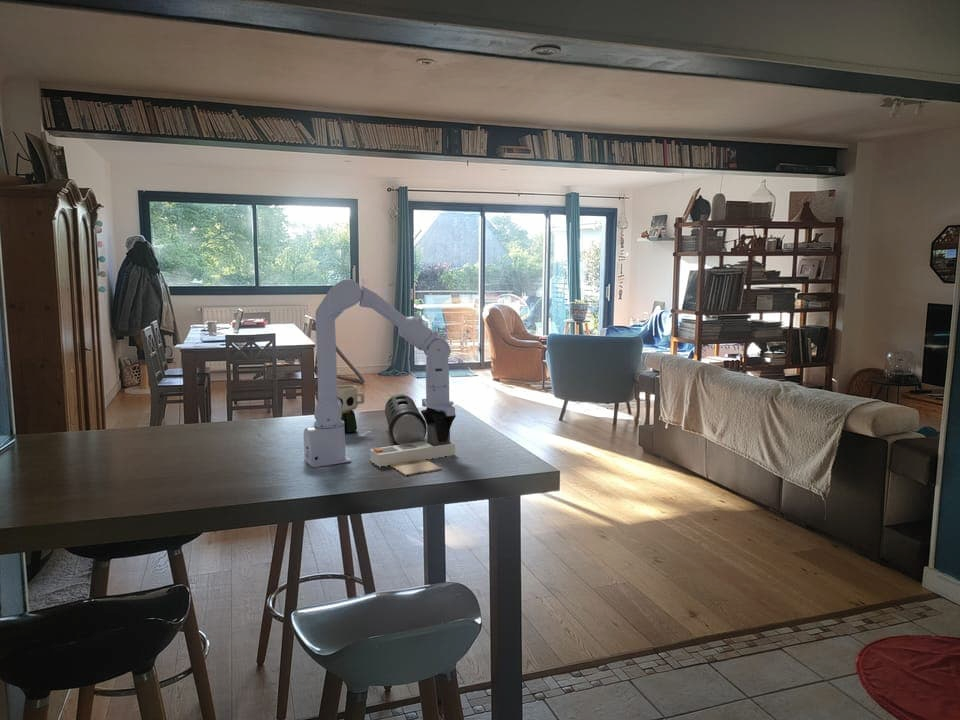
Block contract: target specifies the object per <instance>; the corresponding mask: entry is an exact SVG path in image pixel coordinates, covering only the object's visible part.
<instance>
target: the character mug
mask: <svg viewBox="0 0 960 720" xmlns="http://www.w3.org/2000/svg"><path fill="white" fill-rule="evenodd" d="M337 389H338V397H339V399H340V401H341V403H342V417H341V420H343V421H344V427H345V431H347V433H353V432H355V431H357V429H358V426H357V419H356V414H355V411H354V410H356V409H357V408H358V405H363V404H365V393H364V392H362V391H360V392H358V386H357V385H351V384H350V385H349V384H343V385H341V384H339V385H337ZM359 396H360V400H359V399H358V397H359Z"/></svg>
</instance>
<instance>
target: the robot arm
mask: <svg viewBox="0 0 960 720" xmlns="http://www.w3.org/2000/svg"><path fill="white" fill-rule="evenodd" d="M357 304H359V307H361V308H367V309H371V310H374V311H375V312H376V313H377V314H379V315H381V316H382V317H383V318H385V319H386V320H388V321H389V322H390V323H392V324H393V325H395V326H396V327H397V328H398V334H399V336H400V337H401V338H403V339H404V340H405V341H406V342H408V343H410V344H411V345H412V346H413V347H415V348H416V349H417V350H418V351H423V353H424V354H425V356H426V357H425V358H426V359H425V362H426V363H425V364H426V365H425V396H426V397H425V398H422V399H421V406H422V407H423V408H424V407H425V409H421V410H420V414H421V415H422V416H423V418H424V420H425V422H426V425H427V424H430V423H435V425H436V429H437V437H438V441H439V442H445V441H447V440H448V436H449V431H450V432H451V428H452V424H453V422H454V420H455V419H456V417H457V416H456V407H454V406H453V405H454V401H453V400H450V368H449V358H450V355H451V351H452V349H451V348H450V345H449V342H448V341H446V340H445V339H444V338H443V337H442V336H441V335H438V334H439V332H438V331H437V330H433V329H431V328H430V327H428V326H427V325H426V324H424V323H423V322H424V320H423V319H422V318H421V317H419V316H418V317H416V316H413V315H412V316H405V315H404V314H403V313H401V312H400V311H399V310H397V309H396V308H395V307H394V306H392V305H391V304H390V302H389V303H388V302H387V300H385V299H384V298H383V297H381V296H380V295H378V293H376V292H375V291H373V290H371V289H369V288H367V287H366V286H363V285H359V283H358V282H357V281H355V280H353V279H350V278H344V279H341V280H339V282H336V283H335V284H334V285H333V286H331V288H330V289H329V290H328V292H327V294H326V295H325V296H324V298H323V299H322V301H321V302H320V303H319V305H318V306H317V308H316V310H315V315H314V316H315V337H316V338H315V339H316V340H315V341H316V342H315V343H316V361H317V362H316V364H317V366H316V367H317V368H316V369H317V401H316V404H315V409H314V415H313V416H314V419H315V421H314V422H313V425H312V426H310V427H309V426H308V427H305V428H304V429H303V450H304V451H303V452H304V457H303V460H304V461H305V462H306V463H307V464H308V465H310V467H312V468H319V467H324V466H325V467H326V466H332V465H337V464H339V465H340V464H344V463H350V462H352V459H351V458H350V457H348V456H346V433H345V432H346V430H345V427H344V421H343V420H341V417H342V403H341V401H340V399H339V397H338V389H337V386H338V369H337V368H338V367H337V341H336V337H337V336H336V319H337V318H339V317H340V316H341V315H342V313H344V311H345V310H347V309H350V308H352V307H354V306H356V305H357Z"/></svg>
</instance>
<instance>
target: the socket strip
mask: <svg viewBox="0 0 960 720" xmlns="http://www.w3.org/2000/svg"><path fill="white" fill-rule="evenodd" d="M452 455H453V456H456V443H455V442H454V441H451V440H450V444H445V445H438V446H432V445H430V444H428V443H427V440H424V441H423V440H422V442H415V443H409V444H402V445H397V444H396V445H388V446H384V447H383V446H382V447H375V448H370V449H369V462H370V461H371V462H370V463H372V464H373V463H374V465H375V466H376V465H377V466H376V467H378V466H379V467H378V468H382V467H381V466H385V467H389V466H388V465H391V464H397V463H404V462H410V461H416V460H422V459H428V460H433V459H432V458H434V459H439V457H441V458H445V456H447V457H452Z"/></svg>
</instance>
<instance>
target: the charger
mask: <svg viewBox="0 0 960 720" xmlns="http://www.w3.org/2000/svg"><path fill="white" fill-rule="evenodd" d="M426 426H427V432H426V437H427V438H426V439H427V440H426V441H427V443H428V444H430V445H432V446H438V445H445V444H450V441H451V430H450V431H449V436H448V440H447V441H445V442H439V441H438V437H437V429H436V425H435V423H430V424H426Z"/></svg>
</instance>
